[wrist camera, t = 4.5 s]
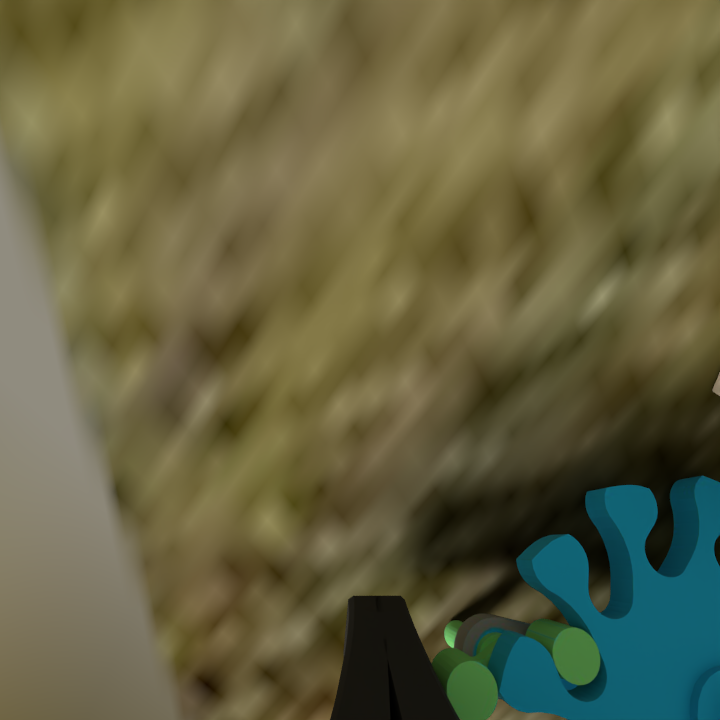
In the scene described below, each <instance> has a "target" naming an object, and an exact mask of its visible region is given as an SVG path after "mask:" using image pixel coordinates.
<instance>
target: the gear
mask: <svg viewBox="0 0 720 720" xmlns="http://www.w3.org/2000/svg"><path fill="white" fill-rule="evenodd" d="M670 502H671V507H672V511H673V518H674V533H673V539H672V543H671V547H670V549H669V551H668V554H667V556H666V558H665V560H664V561H663V563H662V565H661V567H660V568H659V570H658V571H655V570H654V569H653V567H652V566H651V565H650V563H649V561H648V560H647V557H646V554H645V541H646V538H647V536H648V534H649V533H650V531H651V529H652V528H653V526H654V524H655V522H656V520H657V515H658V508H657V503H656V499H655V497H654V495H653V493H652V492H651V490H650V489H649V488H646V487H642V486H637V485H620V486H614V487H608V488H603V489H597V490H592V491H587V494H586V497H585V506H586V510H587V513H588V515H589V517H590V519H591V521H592V522H593V523H594V525H595V526H596V528H597V529H598V531H599V533H600V535H601V537H602V539H603V542H604V544H605V547H606V550H607V553H608V558H609V563H610V574H611V595H610V601H609V604H608V606H607V607H606V609H605V610H604V611H602V612H601V613H599V612H598V611H597V610H596V608H595V607H594V606H593V604H592V602H591V600H590V596H589V590H588V578H589V566H588V559H587V555H586V553H585V551H584V549H583V547H582V546H581V544H580V543H579V542H578V541H577V540H576V539H575V538H574V537H572V536H571V535H569V534H559V535H549V536H546V537H542V538H541V539H539V540H537V541H535V542H534V543H533V544H531V545H530V546H529V547H528V548H527V549H526V550H525V551H524V552H523V553H522V554H521V555H520V556H519V557H518V558H517V559H516V562H517V567H518V570H519V572H520V575H521V576H522V578H523V579H524V581H525V582H526V583H527V584H529V585H530V586H531V587H532V588H534V589H536V590H537V591H539V592H541V593H542V594H543V595H545V596H546V597H547V598H548V599H549V600H551V601H552V602H553V603H554V605H555V606H556V607H557V608H558V609H559V610H560V611H561V613H562V614H563V616H564V617H565V619H566V620H567V622H568V623H569V625H570V626H569V625H565V624H562V623H559V622H555V621H552V620H548V619H538V620H536V621H534V622H533V623H532V624H529V623H525V622H521V621H516V620H512V619H508V618H504V617H500V616H496V615H492V614H486V613H483V614H476V615H473V616H471V617H469V618H468V619H467V620H465V621H464V622H461V621H459V620H453V621H451V622H449V623H448V624H447V626H446V628H445V632H444V635H445V640H446V642H447V643H448V645H449V646H450V647H452V648H448V649H444V650H442V651H441V652H439V653H438V654H437V655H436V657H435V658H434V659H433V662H432V667H433V669H434V671H435V673H436V675H437V677H438V679H439V681H440V683H441V685H442V687H443V689H444V690H445V692H446V694H447V696H448V698H449V700H450V702H451V704H452V706H453V708H454V710H455V712H456V713H457V715H458V717H459V718H460V719H461V720H486V719H487V718H489V717H490V715H491V714H492V713H493V711H494V709H495V707H496V704H497V700H498V699H502V700H504V701H505V702H506V703H507V704H509V705H510V706H511V707H513V708H515V709H517V710H518V711H522V712H526V713H533V712H544V713H550V714H555V715H558V716H561V717H564V718H566V719H568V720H720V566H719V564H718V562H717V560H716V557H715V553H714V544H715V541H716V539H717V538H718V536H719V535H720V482H718V481H715V480H713V479H710V478H708V477H705V476H697V477H692V478H686V479H680V480H677V481H676V482H675V483H674V484H673V486H672V488H671V492H670Z"/></svg>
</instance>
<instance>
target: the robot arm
mask: <svg viewBox="0 0 720 720" xmlns="http://www.w3.org/2000/svg"><path fill="white" fill-rule="evenodd" d="M330 720H460V719H459V717H458V715H457V713H456V712H455V710H454V708H453V706H452V704H451V702H450V700H449V698H448V696H447V694H446V692H445V690H444V689H443V687H442V685H441V683H440V681H439V679H438V677H437V675H436V673H435V671H434V669H433V667H432V664H431V662H430V660H429V658H428V656H427V654H426V652H425V649H424V647H423V645H422V643H421V640H420V638H419V636H418V633H417V631H416V629H415V626H414V624H413V621H412V619H411V616H410V614H409V611H408V608H407V605H406V602H405V600H404V599H403V598H402V597H401V596H353V597H351V598H350V599H348V610H347V621H346V632H345V644H344V661H343V666H342V671H341V676H340V680H339V685H338V690H337V695H336V699H335V703H334V707H333V711H332V715H331V719H330Z"/></svg>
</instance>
